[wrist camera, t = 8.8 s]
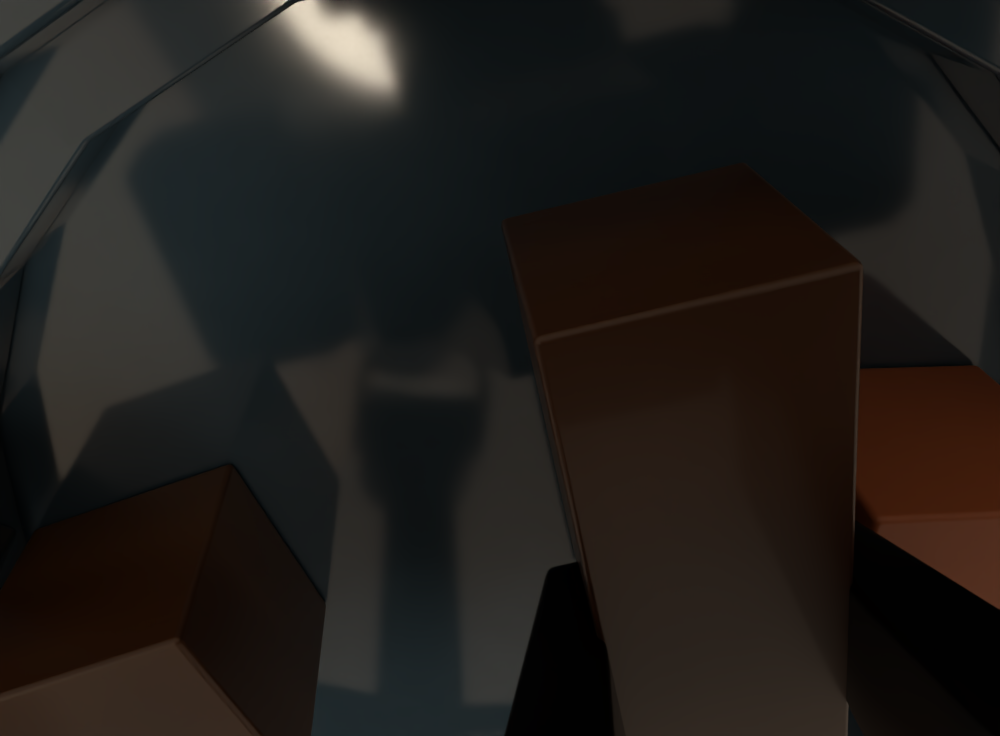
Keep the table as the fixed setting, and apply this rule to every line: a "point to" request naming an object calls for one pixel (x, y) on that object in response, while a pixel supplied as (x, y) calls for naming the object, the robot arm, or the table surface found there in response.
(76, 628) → the block
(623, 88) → the bowl
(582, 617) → the robot arm
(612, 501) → the stick
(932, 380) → the block
